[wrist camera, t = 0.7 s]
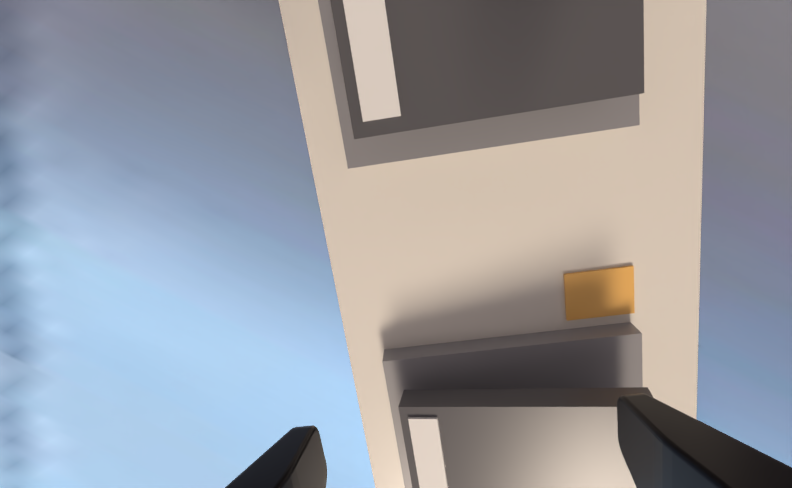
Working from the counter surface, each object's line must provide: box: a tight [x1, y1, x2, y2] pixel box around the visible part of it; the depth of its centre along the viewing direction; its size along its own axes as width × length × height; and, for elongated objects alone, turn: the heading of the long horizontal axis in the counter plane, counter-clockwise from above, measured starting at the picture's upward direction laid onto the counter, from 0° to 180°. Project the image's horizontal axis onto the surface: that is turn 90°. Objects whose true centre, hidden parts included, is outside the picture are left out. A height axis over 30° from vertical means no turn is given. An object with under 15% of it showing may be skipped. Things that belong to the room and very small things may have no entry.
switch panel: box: [279, 0, 706, 488], centre depth 16 cm, size 13×25×3 cm, turn 9°
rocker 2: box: [398, 387, 653, 488], centre depth 15 cm, size 8×4×1 cm, turn 99°
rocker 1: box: [330, 0, 644, 139], centre depth 12 cm, size 8×4×1 cm, turn 99°
